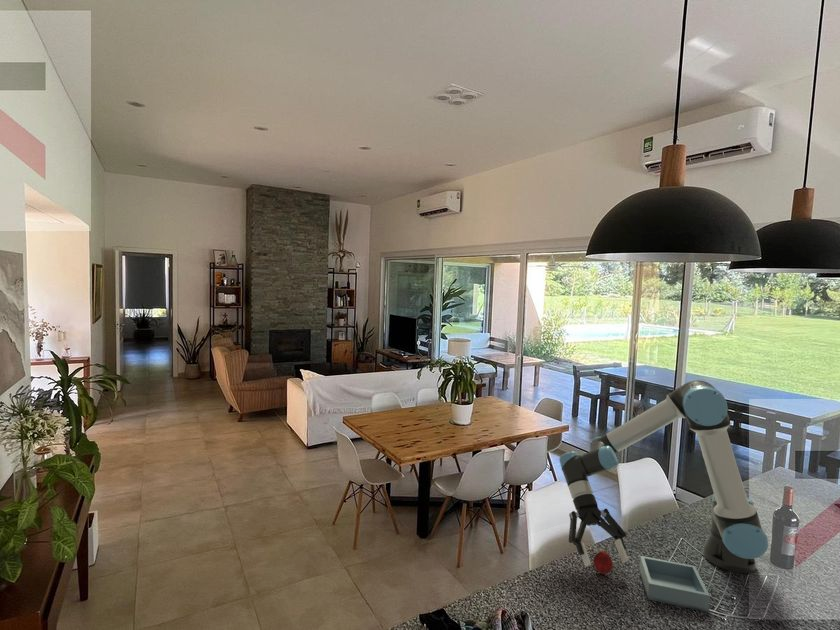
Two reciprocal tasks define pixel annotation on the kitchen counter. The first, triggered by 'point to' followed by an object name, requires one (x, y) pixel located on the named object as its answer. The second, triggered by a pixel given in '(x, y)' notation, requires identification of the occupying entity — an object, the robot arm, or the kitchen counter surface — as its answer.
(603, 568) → the onion
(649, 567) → the bin
